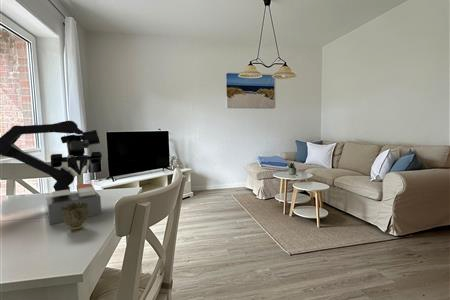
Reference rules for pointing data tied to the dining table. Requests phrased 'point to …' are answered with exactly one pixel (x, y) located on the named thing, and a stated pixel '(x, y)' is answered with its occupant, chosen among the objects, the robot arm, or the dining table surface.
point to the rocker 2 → (85, 189)
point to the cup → (75, 215)
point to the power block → (57, 202)
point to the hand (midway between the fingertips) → (80, 174)
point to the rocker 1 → (60, 193)
